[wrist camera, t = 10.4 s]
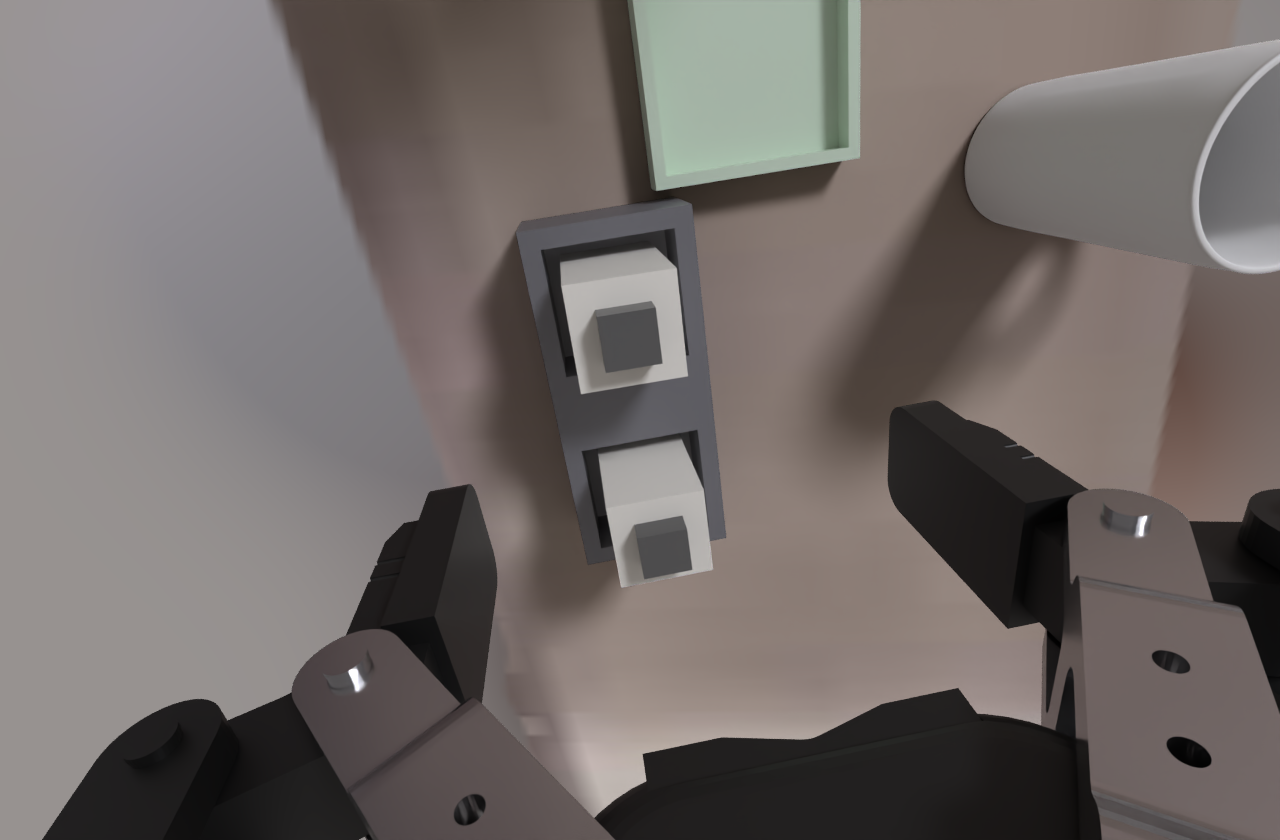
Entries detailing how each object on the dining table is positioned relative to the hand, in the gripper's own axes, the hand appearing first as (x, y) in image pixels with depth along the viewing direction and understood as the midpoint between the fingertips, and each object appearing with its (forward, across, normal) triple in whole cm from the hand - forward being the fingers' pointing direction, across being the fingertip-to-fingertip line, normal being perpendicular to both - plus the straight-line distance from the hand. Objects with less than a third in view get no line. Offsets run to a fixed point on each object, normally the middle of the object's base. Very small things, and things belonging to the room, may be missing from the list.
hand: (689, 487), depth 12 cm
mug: (+20, -22, -2) cm, 30 cm away
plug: (+18, 0, 0) cm, 18 cm away
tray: (+20, -7, -10) cm, 23 cm away
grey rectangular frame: (+19, 0, +5) cm, 20 cm away
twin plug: (+18, 0, +9) cm, 20 cm away
